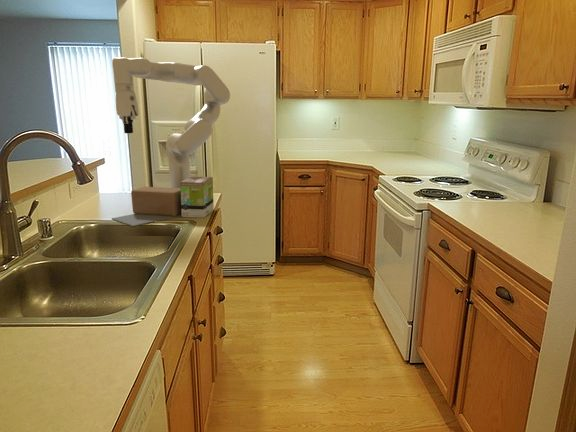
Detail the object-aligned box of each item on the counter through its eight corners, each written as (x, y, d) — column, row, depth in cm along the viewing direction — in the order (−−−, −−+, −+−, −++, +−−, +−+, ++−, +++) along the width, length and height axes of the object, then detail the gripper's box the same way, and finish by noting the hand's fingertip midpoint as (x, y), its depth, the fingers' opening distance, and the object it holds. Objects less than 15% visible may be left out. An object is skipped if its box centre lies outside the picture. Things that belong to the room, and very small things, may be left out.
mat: (160, 209, 190) (160, 208, 190) (182, 215, 179) (182, 214, 179) (111, 219, 174) (111, 218, 174) (132, 226, 164) (132, 225, 163)
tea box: (205, 218, 176) (203, 182, 172) (181, 217, 177) (178, 181, 173) (214, 209, 191) (213, 176, 187) (192, 209, 191) (190, 175, 188)
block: (132, 214, 181) (175, 217, 176) (129, 190, 178) (174, 192, 174) (145, 208, 190) (187, 211, 185) (143, 186, 188) (185, 188, 183)
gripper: (142, 88, 182) (146, 133, 187) (122, 89, 191) (127, 132, 196) (126, 88, 176) (130, 134, 181) (106, 89, 185) (111, 133, 190)
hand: (128, 133), depth 188 cm, fingers closed
